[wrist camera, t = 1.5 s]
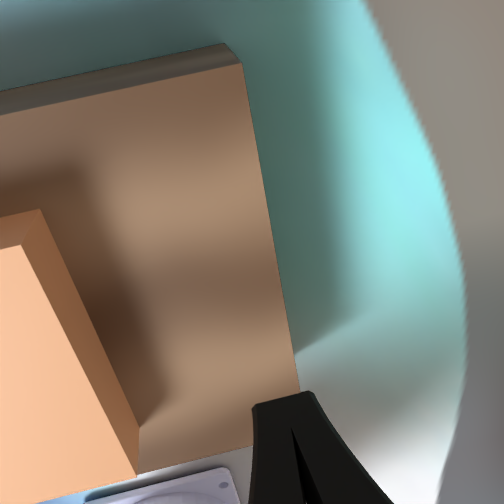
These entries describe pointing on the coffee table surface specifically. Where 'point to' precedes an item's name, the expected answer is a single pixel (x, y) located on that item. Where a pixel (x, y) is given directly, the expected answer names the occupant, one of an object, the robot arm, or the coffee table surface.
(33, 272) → the tan rectangular block
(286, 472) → the robot arm
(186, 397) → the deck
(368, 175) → the coffee table surface
